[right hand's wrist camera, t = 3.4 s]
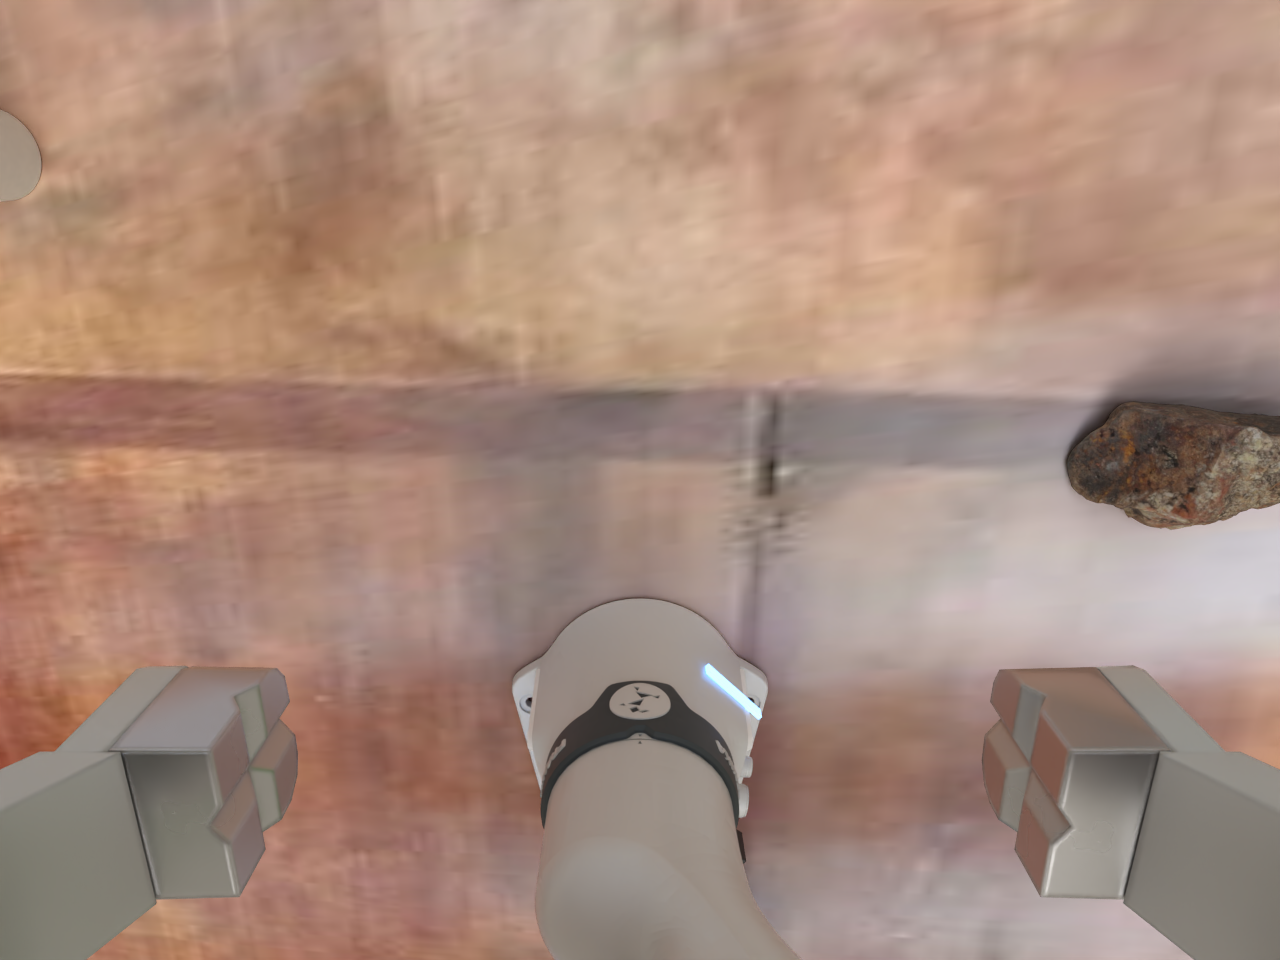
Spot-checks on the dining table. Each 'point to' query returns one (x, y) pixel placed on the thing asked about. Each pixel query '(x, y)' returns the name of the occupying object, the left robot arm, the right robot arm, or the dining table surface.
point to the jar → (17, 159)
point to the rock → (1179, 463)
